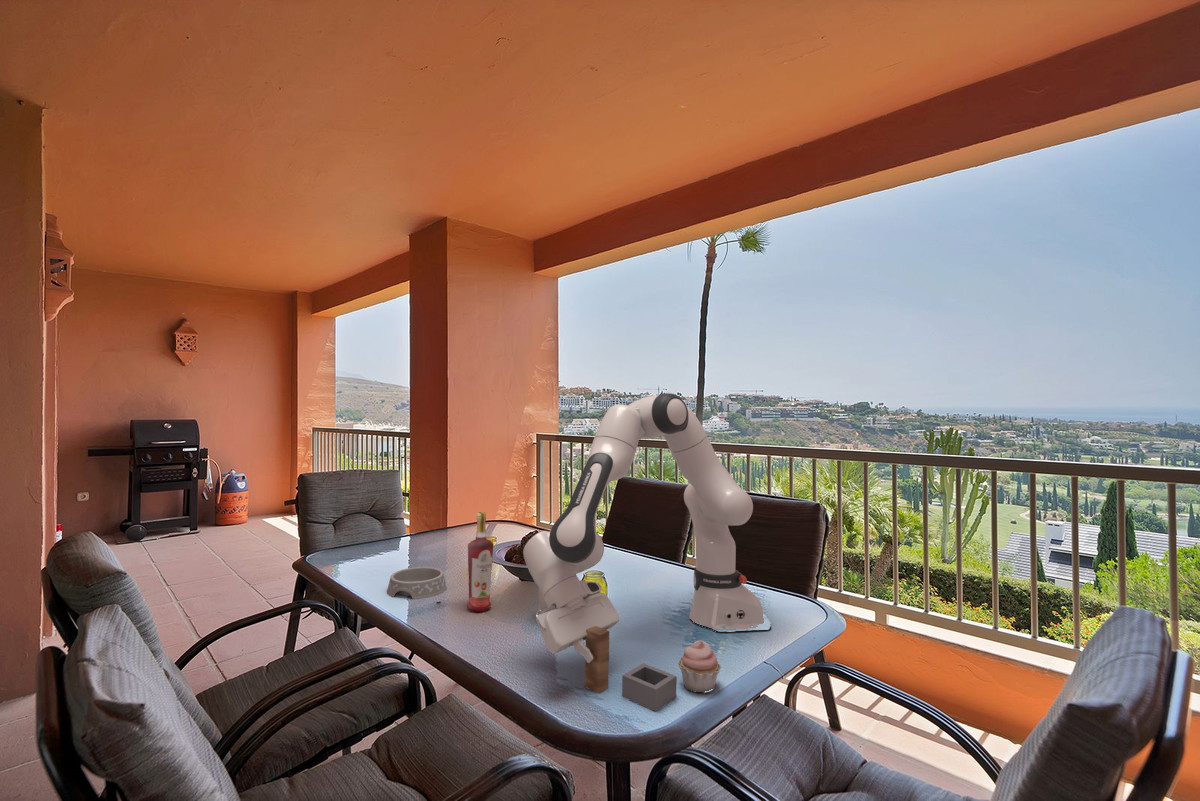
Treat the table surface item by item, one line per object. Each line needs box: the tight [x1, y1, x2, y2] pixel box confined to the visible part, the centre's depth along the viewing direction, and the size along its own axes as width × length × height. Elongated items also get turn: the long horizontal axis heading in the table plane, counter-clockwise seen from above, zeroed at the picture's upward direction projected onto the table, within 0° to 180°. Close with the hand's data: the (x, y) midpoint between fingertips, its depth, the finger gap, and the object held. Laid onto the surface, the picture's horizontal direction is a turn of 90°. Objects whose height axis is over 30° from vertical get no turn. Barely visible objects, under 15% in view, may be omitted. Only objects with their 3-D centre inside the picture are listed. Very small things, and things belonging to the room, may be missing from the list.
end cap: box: [621, 662, 678, 713], centre depth 111 cm, size 8×7×4 cm
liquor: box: [467, 511, 494, 613], centre depth 158 cm, size 7×7×28 cm
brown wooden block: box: [584, 626, 610, 694], centre depth 115 cm, size 4×3×12 cm
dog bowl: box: [386, 566, 447, 600], centre depth 174 cm, size 17×18×5 cm
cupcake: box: [677, 639, 722, 693], centre depth 116 cm, size 9×9×10 cm
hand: (599, 656), depth 115 cm, fingers closed on brown wooden block, 3 cm apart
